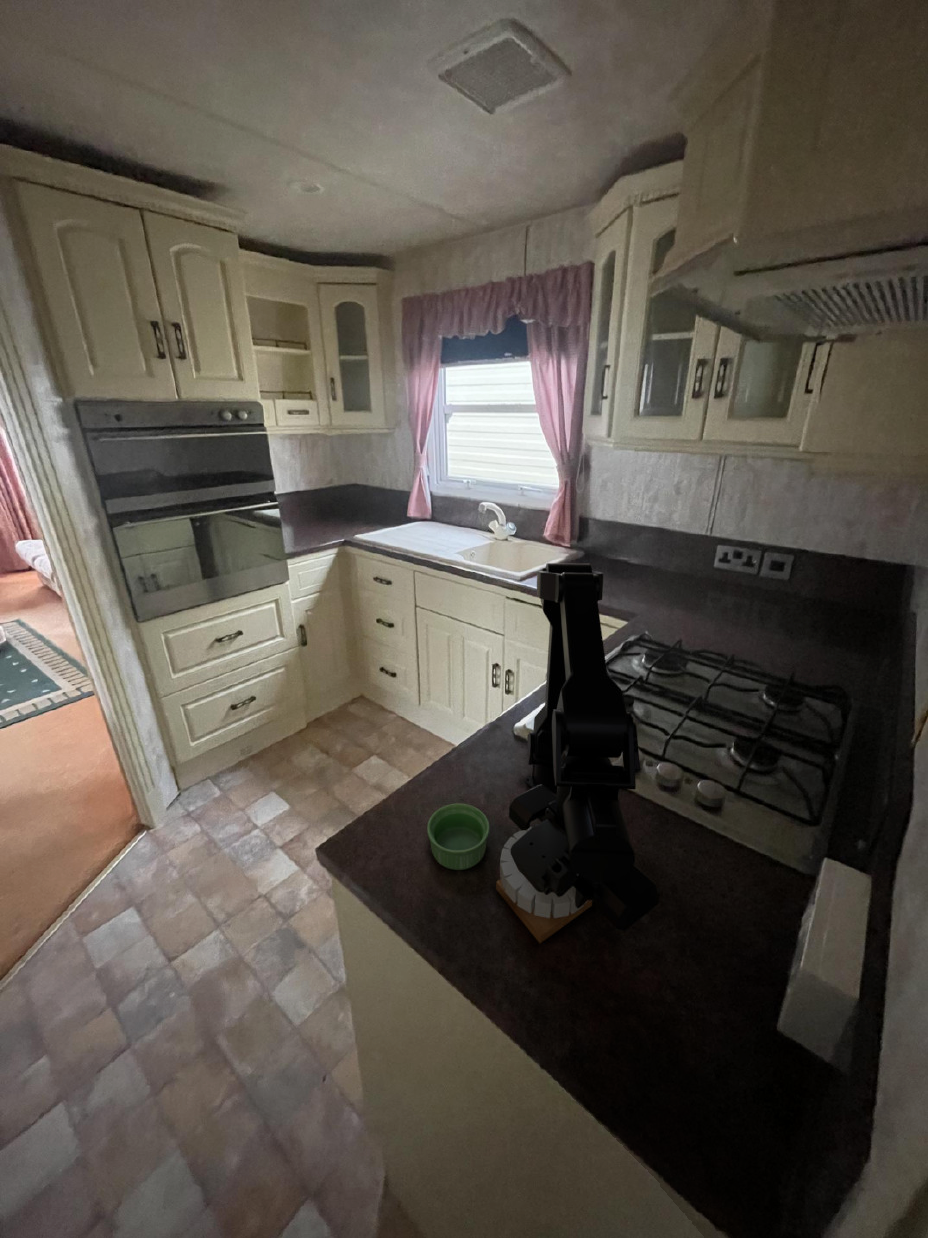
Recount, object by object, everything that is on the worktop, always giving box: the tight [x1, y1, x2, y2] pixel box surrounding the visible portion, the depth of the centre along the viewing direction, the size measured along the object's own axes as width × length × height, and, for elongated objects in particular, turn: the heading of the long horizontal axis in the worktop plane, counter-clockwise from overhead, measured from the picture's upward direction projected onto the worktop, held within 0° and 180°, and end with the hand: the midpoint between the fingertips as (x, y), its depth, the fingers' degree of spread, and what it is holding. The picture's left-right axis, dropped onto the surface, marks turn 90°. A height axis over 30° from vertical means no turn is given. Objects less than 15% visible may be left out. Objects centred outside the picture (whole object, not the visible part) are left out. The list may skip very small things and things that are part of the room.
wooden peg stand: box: [495, 878, 593, 944], centre depth 67 cm, size 9×9×8 cm
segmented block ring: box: [499, 826, 588, 918], centre depth 66 cm, size 12×12×2 cm
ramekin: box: [426, 802, 490, 871], centre depth 75 cm, size 9×9×4 cm
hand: (571, 897), depth 63 cm, fingers closed on segmented block ring, 2 cm apart
